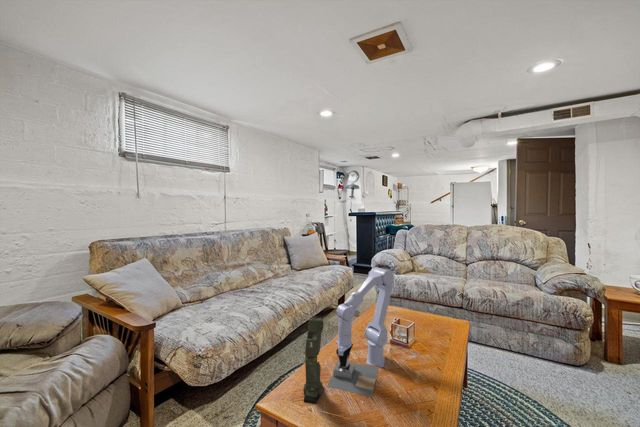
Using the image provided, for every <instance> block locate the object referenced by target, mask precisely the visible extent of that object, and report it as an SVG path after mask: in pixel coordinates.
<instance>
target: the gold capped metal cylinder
mask: <svg viewBox="0 0 640 427" xmlns="http://www.w3.org/2000/svg"><path fill="white" fill-rule="evenodd" d="M349 359H350V355H348V358H347V364H346V367H342V366H341V369H345V370H348V366H349V362H350V361H349Z"/></svg>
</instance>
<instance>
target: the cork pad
mask: <svg viewBox="0 0 640 427" xmlns="http://www.w3.org/2000/svg"><path fill="white" fill-rule="evenodd" d="M376 380H377V378H376V379H373V378H369V377H364V376H359V377H358V380H357V383H356V387H358V388H362V389H367V390H371V391H373V392H374V390H373V389H375V384H376Z"/></svg>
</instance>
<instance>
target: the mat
mask: <svg viewBox="0 0 640 427" xmlns="http://www.w3.org/2000/svg"><path fill="white" fill-rule="evenodd" d="M355 363H356V362H355ZM378 372H379V367H378V366H372V365H367V364H366V365H365V364H361V363H356V364H355V372H354V375H353V378H352V380H347V379H342V378H338V377H333V374H332V376H331V377H330V379H329V382H328V384H327V385H326V387H328V388H332V389H336V390H342V391H345V392H350V393H353V394H358V395H362V396H366V397H370V398H372V397H373V393H374V389H375V388H374V389H373V391H371V390H367V389H362V388H358V387H356V383H357V380H358V377H359V376H364V377H369V378H373V379H376V380H377V375H378Z"/></svg>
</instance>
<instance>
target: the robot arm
mask: <svg viewBox="0 0 640 427" xmlns="http://www.w3.org/2000/svg"><path fill="white" fill-rule="evenodd" d="M394 280H395V275H394V273H393V271H391V270H390V269H384V268H380V267H378V266H373V267H372V268H371V269H370V271H368V277H367V278H366V279H365V280H364V281H363V283H362V285H361V286H360V287H359V289H358V290H357V291H353V292H351V293H350V295H349V297H348V298H347V299H346V300H345V301H344V303H340V304H339V305H338V306H337V308H336V310H335V315H336V316H337V322H338V326H337V327H338V333H337V334H338V337H337V340H336V341H335V344H336V345H337V349H336V351H335V352H336V355H337V357H338V360H340V365H341V366H342V367H346V364H347V358H348V355H349V356H350V355H351V351H352V348H353V347H354V343H352V322H353V319H354V318H355V314H356V311H357V309H358V308H359V307H360V306H361V304H362V303H363V302H364V297H365V296H366V294H367V293H369V291H371V290H372V289H373V287H375V286H378V287H379V291H378V292H379V293H378V295H377V300H376V304H375V308H374V309H375V310H374V314H373V318H372V320H371V321H369V322H368V323H367V326H366V328H365V330H364V337H365V338H366V341H367V357H366V362H365V364H366V365H367V366H372V367H377V368H384V365H385V361H386V356H385V355H384V346H385V345H386V343H388V329H387V327H386V325H385V324H386V323H385V321H386V318H387V312H388V308H389V305H390V304H389V303H390V300H391V296H392V290H393V284H394Z"/></svg>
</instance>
